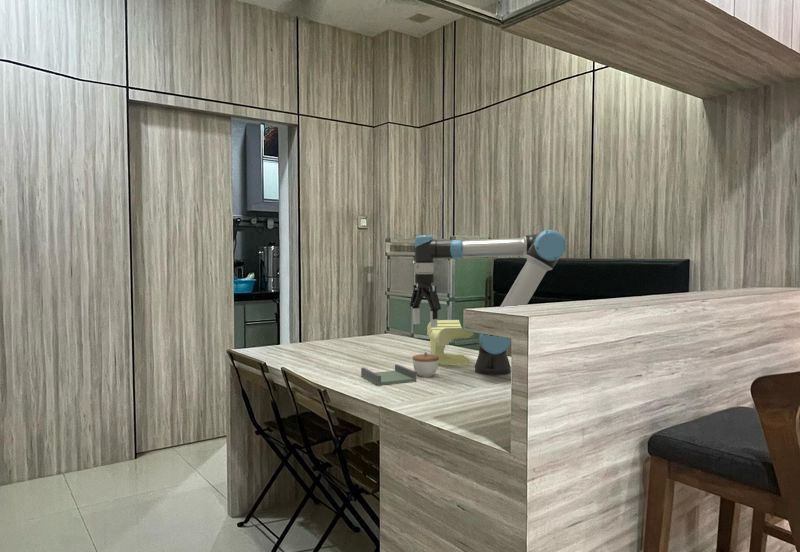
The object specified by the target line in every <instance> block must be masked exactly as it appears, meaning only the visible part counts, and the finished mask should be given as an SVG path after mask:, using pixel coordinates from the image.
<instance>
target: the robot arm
mask: <svg viewBox="0 0 800 552" xmlns="http://www.w3.org/2000/svg"><path fill="white" fill-rule="evenodd" d="M564 237H565V236H563V234H561V233H560V232H558V231H556V230H554V229H545V230H543V231H541V232H539V233H535V234H530V235H529V234H527V235H524V236H522V237H516V238H515V237H513V238H511V237H510V238H494V239H493V238H491V239H490V238H489V239H470V240H468V239H467V240H461V239H441V240H438V239H437V240H436V239H435V238H434V236H433V235H431V234H429V235H416V236H415V238H414V263H415V264H414V271H415V272H414V273H416V274H415V275H414V277H415V280H414V282H415V284H413V288H412V289H413V291H412V296H411V299H410V303H409V306H410V307H411V308H412V316H413V317H412V318H413V319H412V322H413V325H420V324H421V319H420V318H421V316H420V315H421V313H420V312H421V311H420V310H421V309H420V308H421V307H420V304H421V302H422V301H423V299H424V298H426V300H427V303H428V305H429V308H430V312H429V313H430V314H429V315H430V317H429V318H430V322H431V328H434V327H437V320H438V311H439V310H441V309H442V307H441V303H440V300H439V295H438V293H437V286H436V285H432V284H434V282H435V281H434V279H435V278H434V277H435V276H434V271H435V264H434V262H435V261H434V259H436V260H437V259H438V260H439V259H445V260H447V259H448V260H453V259H454V260H456V259H471V258H472V259H474V258H475V259H476V258H500V257H501V258H505V257H523V258H524V259H526V261H525V264H524V266H523V267H522V269H521V270H520V272H519V273H518V275H517V277H516V279H515V280H514V283H513V284H512V285H511V287H510V289H509V291H508V293H507V294H506V296H505V297H504V299H503V301H502V303H501V304H500V307H504V306H517V305H526V306H527V305H528V304H529V301H530V300H531V298H533V295H534V293H535V292H536V290H537V288H538V286H539V285H540V283H541V281H542V280H543V278H544V277H545V275H546V273H547V272H548V271H552V270H553V269H554V267H555V266H556V264H557V263H558V261H559V260H560V258H562V256H563V255H564V254H565V253H566V249H567V242H566V239H565V238H564ZM500 307H499V308H500ZM478 334H479V333H478ZM510 343H511V340H510V339H508V338H503V337H497V336H490V335H483V334H479V335H478V355H477V358H476V362H475V365H474V372H475V373H477V374H481V375H488V376H502V375H503V376H504V375H509V374H511V373H512V368H511V365H510V361H509V357H508V353H507V351H508V350H507V349H508V348H509V346H510ZM510 372H511V373H510Z"/></svg>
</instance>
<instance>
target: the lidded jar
mask: <svg viewBox="0 0 800 552" xmlns="http://www.w3.org/2000/svg"><path fill="white" fill-rule="evenodd" d="M438 359H439V357H438V356H436V355H431V353H430V354H428V353H427V352H424V354H423V353H422V354H414V355H412V365H413V366H412V367H413V369H414V370H413V371H415V372H416V375H418V376H419V377H422V378H423V377H425V378H427V377H428V378H429V377H430V378H431V377H433V376H434V374H436V372H437V370H438V367H439V363H438Z"/></svg>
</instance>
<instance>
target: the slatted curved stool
mask: <svg viewBox="0 0 800 552" xmlns="http://www.w3.org/2000/svg"><path fill="white" fill-rule="evenodd" d="M463 328H464V327H462V324H461V322H460V320H459V319H442V320H441V319H437V327H434V328H431V321H430V322H429V323H428V324H427V329H426V330H427V331H426V332H427V333H426V335H427V336H429V341H430V342H429V343H430V355H436V356H438V357H439V359H438V365H442V366H444V365H445V366H447V365H448V366H449V365H470V359H469V358H468V357H466V356H465V355H463V354H462V355H460V354H459V355H455V354H447V353H445V347H446V346H449V345H450V341H452V340H453V341H454V340H457V339H467V338H468V339H469V338H470V337H472V336H474V335H475V332H474V333H472V332H468V331H465V330H464V329H463Z"/></svg>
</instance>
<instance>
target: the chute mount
mask: <svg viewBox="0 0 800 552" xmlns="http://www.w3.org/2000/svg"><path fill="white" fill-rule="evenodd" d="M360 369H361V371H360V372H361V373H360V376H361V377H360V378H362V379H364V380H365V381H368V382H371V383H372V384H373V385H376V386H377V387H379V386H380V387H381V386H389V385H398V384H406V383H415V382H417V373H416V372H415V370H412V369H410V368H407V367H405V366H402V365H401V364H396V363H395V365H394V370H388V371H387V370H385V371H377V372H374V371H372V370H369V369H368V368H366V367H361V368H360Z"/></svg>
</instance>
